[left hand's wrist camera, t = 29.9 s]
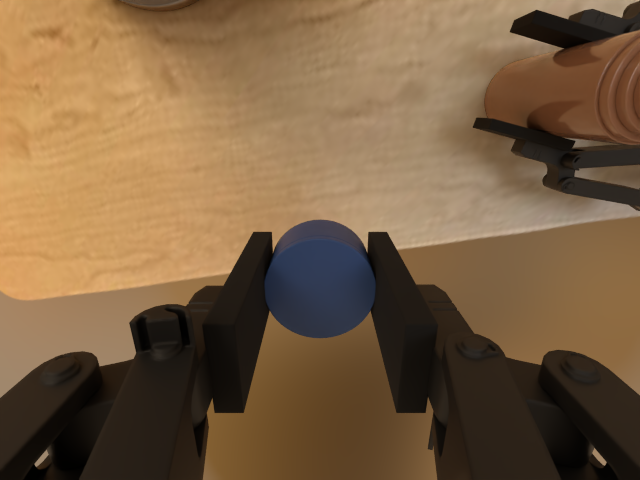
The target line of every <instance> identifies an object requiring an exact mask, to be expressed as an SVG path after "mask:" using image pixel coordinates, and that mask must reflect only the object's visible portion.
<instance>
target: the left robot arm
mask: <svg viewBox="0 0 640 480" xmlns="http://www.w3.org/2000/svg"><path fill="white" fill-rule="evenodd" d="M120 1H122V2H124V3H126V4H129V5H131V6H134V7H137V8H141V9H146V10H153V11H167V10H175V9H179V8H183V7H186V6H188V5H191V4H193V3H195V2H197V1H198V0H120ZM367 254H368V257H369V260H370V263H371V267H372V270H373V273H374V276H375V280H376V288H375V300H374V304H373V306H372V308H371V314H372V318H373V322H374V326H375V330H376V334H377V338H378V342H379V345H380V349H381V353H382V357H383V361H384V365H385V369H386V373H387V377H388V381H389V385H390V389H391V393H392V396H393V401H394V404H395V408H396V412H397V413H426V406H427V399H428V398H429V400H430V403H431V405H432V408H433V411H434V412H433V418H432V425H431V431H430V438H429V444H428V449H430V450H432V449H433V446H434V454H435V463H436V471H437V480H640V395H639V394H637V393H636V392H635V391H634V390H633V389H632V388H630V387H629V386H628V385H627V384H626V383H624V382H623V381H622V380H621V379H620V378H619V377H617V376H616V375H615V374H614V373H613V372H612V371H610V370H609V369H608V368H606V367H605V366H603V365H602V364H600V363H599V362H598V361H596V360H593V359H591V358H589V357H587V356H585V355H583V354H580V353H576V352H572V351H564V350H555V351H549V352H548V353H547V354H546V355H544V357H543V361H542V364H541V365H538V364H533V363H528V362H523V361H519V360H514V359H511V358H507V357H505V354H504V352H503V351H502V350H501V348H500V347H499V346H498V345H497V344H495V343H494V342H493V341H491V340H490V339H488V338H486V337H483V336H481V335H478V334H474V333H473V331H472V330H471V328H470V327H469V325H468V324H467V322H466V321H465V320H464V318H463V317H462V315H461V314H460V312H459V311H457V308H456V307H455V305H454V304H453V303H452V301H451V300H450V298H449V297H448V295H447V294H446V292H444V291H443V290H441V289H440V288H438V287H437V286H435V285H416V284H415V282H414V280H413V278H412V277H411V275H410V273H409V271H408V269H407V267H406V266H405V264H404V262H403V260H402V259H401V257H400V255H399V253H398V251H397V249H396V248H395V246H394V244H393V242H392V240H391V239H390V237H389V235H388V233H387V232H368V251H367ZM272 255H273V247H272V232H253V234H252V236H251V237H250V239H249V241H248V243H247V245H246V246H245V248H244V250H243V252H242V254H241V255H240V257H239V259H238V261H237V263H236V264H235V266H234V268H233V270H232V272H231V273H230V275H229V277H228V279H227V281H226V282H225V284H224V286H205V287H204V288H202V289H201V290H199V291H198V292H196V293H195V294H194V295H193V297H192V298H191V300H190V301H189V304H187V306H182V305H178V304H166V305H161V306H156V307H153V308H150V309H148V310H145V311H143V312H141V313H140V314H138V315H137V316H135V317H134V318H133V319H132V320H131V322H130V323H129V324H130V328H131V332H132V336H133V340H134V345H135V349H136V355H135V357H134V359H132V360H128V361H124V362H119V363H115V364H110V365H105V366H100V367H99V363H98V360H97V357H96V356H95V355H93V354H92V353H89V352H72V353H67V354H64V355H60V356H57V357H55V358H53V359H51V360H49V361H47V362H44V363H43V364H41V365H40V366H38V367H37V368H35V369H34V370H33V371H31V372H30V373H29V374H28V375H27V376H25V377H24V378H23V379H22V380H21V381H20V382H18V383H17V384H16V385H15V386H14V387H13V388H11V389H10V390H9V391H8V392H7V393H6V394H4V395H3V396H2V397H1V398H0V480H203V472H204V464H205V455H206V446H207V438H208V429H209V426H208V418H207V410H208V408H209V405H210V402H211V400H212V397H213V404H214V411H215V413H244V409H245V405H246V401H247V398H248V394H249V390H250V386H251V382H252V378H253V374H254V370H255V366H256V362H257V358H258V354H259V350H260V346H261V342H262V338H263V334H264V331H265V327H266V323H267V319H268V315H269V311H270V310H269V308H268V306H267V303H266V299H265V283H264V281H265V276H266V273H267V270H268V267H269V264H270V261H271V258H272ZM594 448H595V449H596V450H597V451H598V452H599V453H600V455H601V456H602V457H603V458H604V459H605V461H606V462H607V463H606V465H605V466H604V465H602V464H601V463H600V462H599V461H598V460H597V459H596V458H595V456H594V455H593V454H592V452H593V450H594ZM46 449H47V451H48V454H49V455H48V456H47V458H46V459H45V460H44V461H43V462H42V463H41V464H40V465H39V466H37V467H36V466H35V465H34V464H35V462H36V461H37V460H38V459H39V458H40V456H41V455H42V454H43V453H44V452H45V451H46Z"/></svg>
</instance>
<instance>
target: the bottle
mask: <svg viewBox="0 0 640 480" xmlns="http://www.w3.org/2000/svg"><path fill="white" fill-rule="evenodd" d="M485 110H486V114H487V116H488V118H493V119H497V120H500V121H504V122H508V123H511V124H515V125H519V126H522V127H526V128H529V129H533V130H537V131H540V132H544V133H548V134H551V135H555V136H559V137H563V138H572V139H581V140H591V141H600V142H609V143H618V144H628V145H638V144H640V30H636V31H632V32H628V33H624V34H620V35H616V36H612V37H608V38H604V39H601V40H597V41H593V42H589V43H585V44H581V45H577V46H573V47H569V48H565V49H562V50H558V51H554V52H550V53H546V54H542V55H538V56H534V57H530V58H526V59H523V60H519V61H515V62H512V63H510V64H508V65H506V66H505V67H504V68H502V69H501V70H500V71H499V72H498V73H497V74H496V75H495V76H494V78H493V79H492V80H491V82H490V84H489V86H488V89H487V92H486V96H485Z"/></svg>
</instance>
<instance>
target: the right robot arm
mask: <svg viewBox="0 0 640 480" xmlns="http://www.w3.org/2000/svg"><path fill="white" fill-rule="evenodd" d="M636 30H640V1H638V2H635V3H633V4H630V5H629V6H627V7H626V9H625V10H624V13H623V17H622V18H620V17H617V16H613V15H610V14H606V13H604V12H600V11H597V10H594V9H590V10H584V11H582V12H579V13H576V14H574V15H571V16H570V17H569V19H565V18H562V17H558V16H555V15H552V14H549V13H545V12H542V11H539V10H535V11H533V12H531V13H529V14H527V15H525V16H522V17H520V18H518V19H516V20H514V22H513V25H512V27H511V30H510V32H511V33H515V34H518V35H521V36H525V37H528V38H531V39H535V40H538V41H541V42H545V43H548V44H551V45H555V46H558V47H561V48H569V47H573V46H577V45H581V44H585V43H589V42H593V41H597V40H601V39H604V38H608V37H612V36H616V35H620V34H624V33H628V32H632V31H636ZM473 128H476V129H480V130H484V131H488V132H491V133H495V134H499V135H502V136H506V137H510V138H513V139H516V140H515V142H514V145H513V147H512V149H511V151H512V152H513V153H514V154H515V155H518V156H522V157H525V158H529V159H533V160H537V161H540V162H543V163H545V164H546V165H547V168H548V171H547V174H546V175H545V176H544V178H543V180H542V183H543V185H544V186H546V187H548V188H551V189H554V190H557V191H560V192H563V193H567V194H572V195H578V196H583V197H589V198H594V199H600V200H606V201H611V202H617V203H622V204H628V205H630V206H631V207H633V208H634V209H636V210H638V211H640V188H639V189H635V188H631V187H627V186H622V185H617V184H611V183H606V182H600V181H595V180H589V179H584V178H578V177H574V174H575V170H579V169H577V168H592V167H607V166H622V165H637V164H640V144H638V145H628V144H623V145H608V146H594V147H579V148H572V147H573V145H574V143H575V141H573V140H570V139H566V138H562V137H559V136H555V135H551V134H548V133H544V132H540V131H537V130H533V129H529V128H526V127H522V126H519V125H515V124H511V123H508V122H504V121H500V120H497V119H493V118H476V120H475V123H474V126H473Z"/></svg>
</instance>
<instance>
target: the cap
mask: <svg viewBox="0 0 640 480" xmlns="http://www.w3.org/2000/svg"><path fill="white" fill-rule="evenodd" d="M264 283H265V299H266V303H267V306H268V308H269V310H270V311H271V313H272V315H273V316H274V317H275V319H276V320H277V321H278V322H279V323H280V324H281V325H283V326H284V327H286V328H287V329H289V330H291V331H292V332H294V333H297V334H299V335H302V336H306V337H312V338H328V337H334V336H338V335H341V334H343V333H346V332H348V331H350V330H352V329H353V328H355V327H356V326H357V325H359V324H360V323H361V322H362V321H363V320H364V319H365V317H366V316H367V315H368V313H369V312H370V310H371V308H372V306H373V304H374V300H375V288H376V280H375V276H374V273H373V270H372V267H371V263H370V260H369V257H368V254H367V251H366V249H365V246H364V244H363V243H362V241H361V240H360V238H359V237H358V236H357V235H356V234H355V233H354V232H353V231H352V230H350V229H349V228H347V227H346V226H344V225H342V224H340V223H337V222H334V221H329V220H312V221H307V222H304V223H301V224H298V225H296V226H294V227H293V228H291V229H290V230H289V231H287V232H286V233H285V234H284V235H283V236H282V237H281V239H280V240H279V241H278V243H277V245H276V247H275V249H274V252H273V255H272V258H271V261H270V264H269V267H268V270H267V273H266V276H265V281H264Z"/></svg>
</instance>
